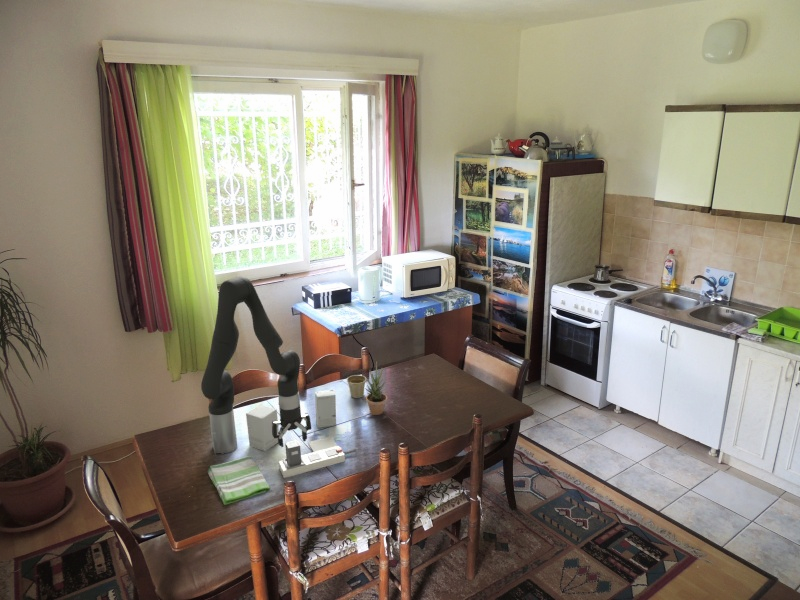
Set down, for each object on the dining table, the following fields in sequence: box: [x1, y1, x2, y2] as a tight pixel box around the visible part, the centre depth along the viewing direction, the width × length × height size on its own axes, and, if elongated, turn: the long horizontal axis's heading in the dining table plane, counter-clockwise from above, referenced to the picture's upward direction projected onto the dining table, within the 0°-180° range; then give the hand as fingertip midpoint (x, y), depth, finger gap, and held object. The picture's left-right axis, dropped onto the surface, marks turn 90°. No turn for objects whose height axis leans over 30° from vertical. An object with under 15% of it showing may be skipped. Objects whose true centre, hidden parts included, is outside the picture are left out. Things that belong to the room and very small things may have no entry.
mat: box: [307, 436, 339, 453], centre depth 229 cm, size 10×10×1 cm
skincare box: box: [314, 389, 337, 429], centre depth 245 cm, size 8×6×15 cm
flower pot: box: [346, 374, 367, 399], centre depth 271 cm, size 9×9×9 cm
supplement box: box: [245, 404, 280, 452], centre depth 230 cm, size 9×9×15 cm
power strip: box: [278, 445, 357, 479], centre depth 218 cm, size 30×7×4 cm, turn 116°
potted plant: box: [364, 361, 388, 416], centre depth 253 cm, size 10×10×25 cm
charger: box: [284, 439, 302, 467], centre depth 212 cm, size 4×5×8 cm
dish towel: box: [207, 456, 271, 506], centre depth 207 cm, size 17×23×4 cm
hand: (293, 443), depth 211 cm, fingers open, 8 cm apart
